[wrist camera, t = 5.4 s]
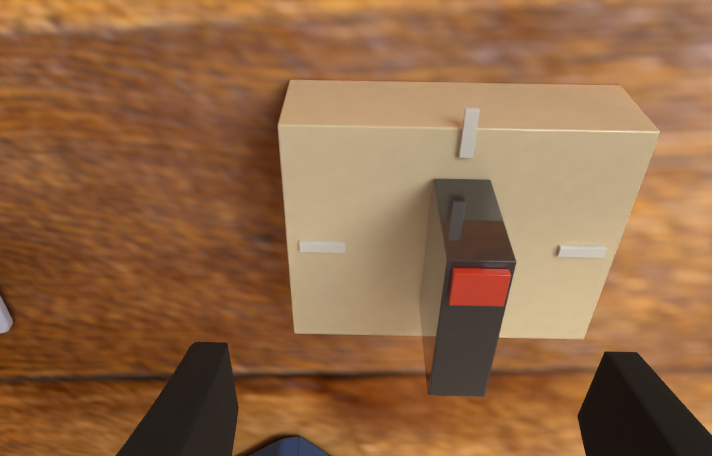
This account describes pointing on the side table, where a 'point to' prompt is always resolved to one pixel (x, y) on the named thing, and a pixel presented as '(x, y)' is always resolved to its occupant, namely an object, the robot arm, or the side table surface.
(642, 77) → the side table surface
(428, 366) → the tap handle
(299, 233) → the block
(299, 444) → the electronic device
